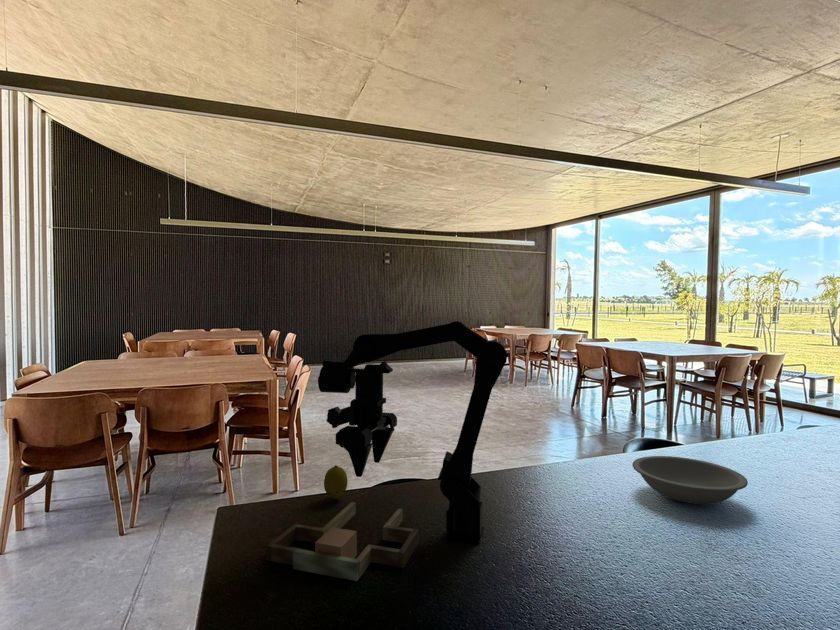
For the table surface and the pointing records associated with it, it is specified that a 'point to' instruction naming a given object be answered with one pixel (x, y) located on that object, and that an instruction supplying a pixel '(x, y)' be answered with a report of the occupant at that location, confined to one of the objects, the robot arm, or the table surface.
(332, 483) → the lemon
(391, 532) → the box
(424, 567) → the table surface
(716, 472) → the soup bowl
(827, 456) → the table surface
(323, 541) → the block
